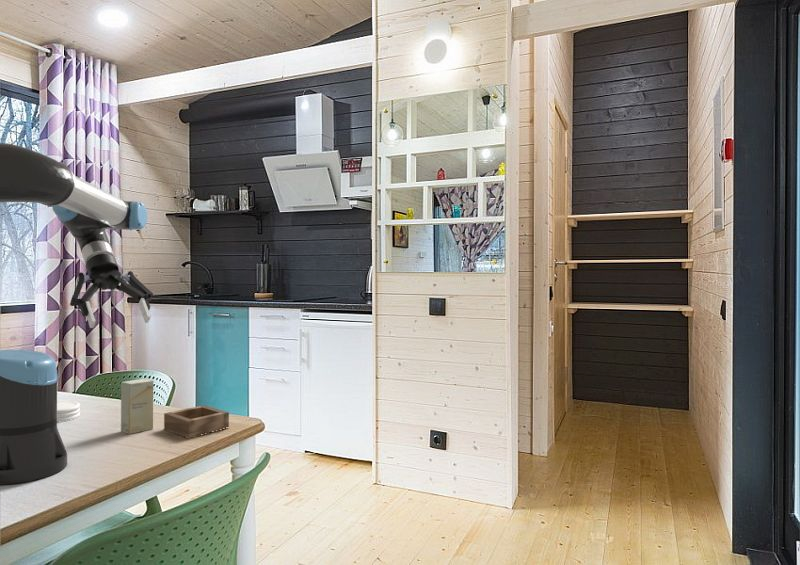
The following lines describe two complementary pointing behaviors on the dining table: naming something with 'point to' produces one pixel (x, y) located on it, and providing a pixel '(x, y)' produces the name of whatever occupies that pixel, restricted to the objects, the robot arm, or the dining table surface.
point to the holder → (196, 421)
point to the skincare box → (136, 405)
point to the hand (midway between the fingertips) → (121, 322)
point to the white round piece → (67, 410)
